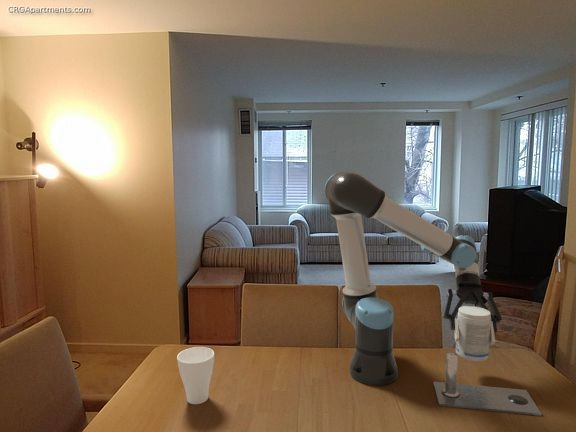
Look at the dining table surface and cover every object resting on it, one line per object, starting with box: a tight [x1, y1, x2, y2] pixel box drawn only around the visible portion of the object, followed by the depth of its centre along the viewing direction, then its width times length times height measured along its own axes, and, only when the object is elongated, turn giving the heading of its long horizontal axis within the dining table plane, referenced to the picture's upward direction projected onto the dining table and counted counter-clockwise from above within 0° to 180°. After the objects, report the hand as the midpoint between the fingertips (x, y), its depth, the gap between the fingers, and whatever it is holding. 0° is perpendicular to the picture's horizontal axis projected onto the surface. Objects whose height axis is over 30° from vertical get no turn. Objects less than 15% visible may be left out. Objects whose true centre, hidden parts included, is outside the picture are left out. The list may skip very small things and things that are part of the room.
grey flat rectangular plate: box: [433, 381, 543, 417], centre depth 121 cm, size 26×12×1 cm, turn 78°
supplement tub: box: [455, 305, 492, 362], centre depth 132 cm, size 10×10×15 cm
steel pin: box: [443, 351, 459, 398], centre depth 122 cm, size 4×4×12 cm
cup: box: [176, 346, 215, 405], centre depth 122 cm, size 10×10×14 cm
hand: (474, 341), depth 129 cm, fingers closed on supplement tub, 9 cm apart
